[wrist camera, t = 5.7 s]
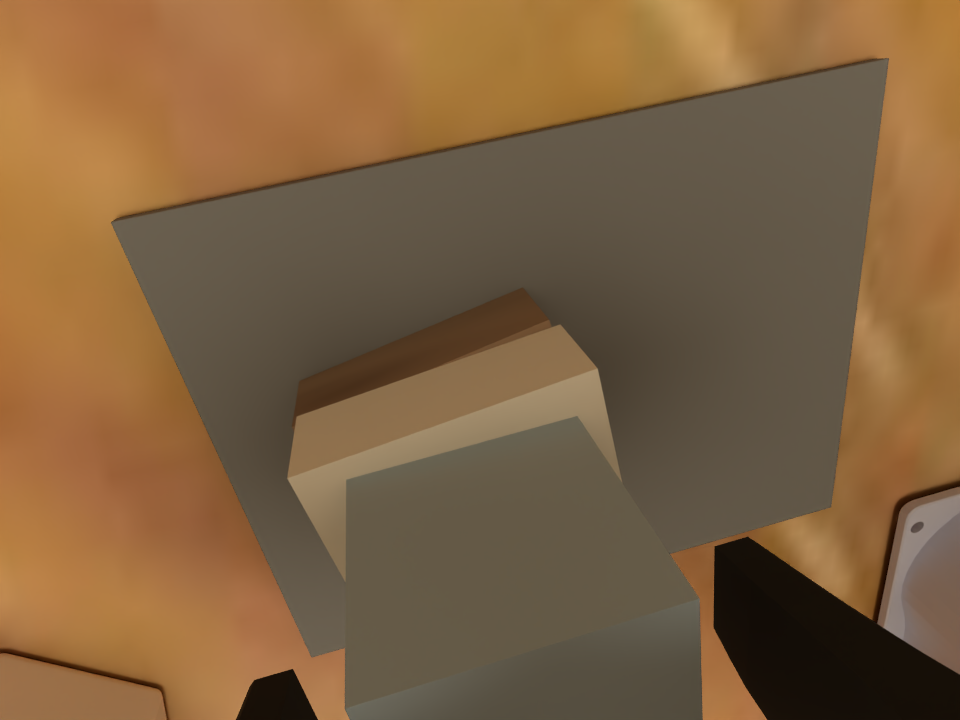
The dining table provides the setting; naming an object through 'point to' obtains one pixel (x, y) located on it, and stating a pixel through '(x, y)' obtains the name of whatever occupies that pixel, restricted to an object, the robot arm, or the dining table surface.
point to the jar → (71, 694)
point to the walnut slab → (424, 350)
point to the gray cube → (514, 590)
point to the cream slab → (442, 420)
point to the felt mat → (553, 297)
